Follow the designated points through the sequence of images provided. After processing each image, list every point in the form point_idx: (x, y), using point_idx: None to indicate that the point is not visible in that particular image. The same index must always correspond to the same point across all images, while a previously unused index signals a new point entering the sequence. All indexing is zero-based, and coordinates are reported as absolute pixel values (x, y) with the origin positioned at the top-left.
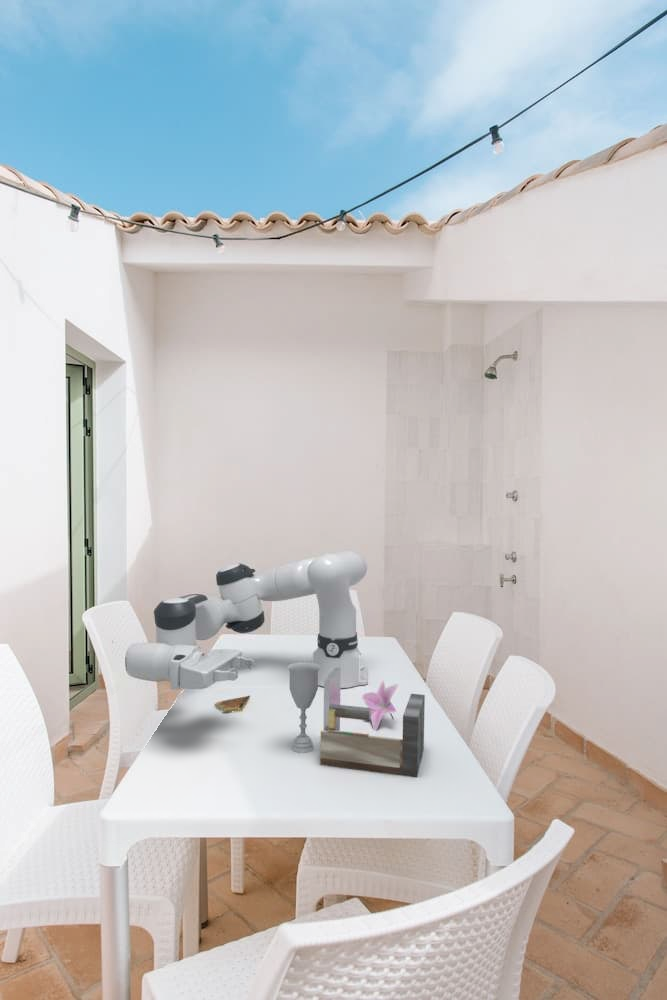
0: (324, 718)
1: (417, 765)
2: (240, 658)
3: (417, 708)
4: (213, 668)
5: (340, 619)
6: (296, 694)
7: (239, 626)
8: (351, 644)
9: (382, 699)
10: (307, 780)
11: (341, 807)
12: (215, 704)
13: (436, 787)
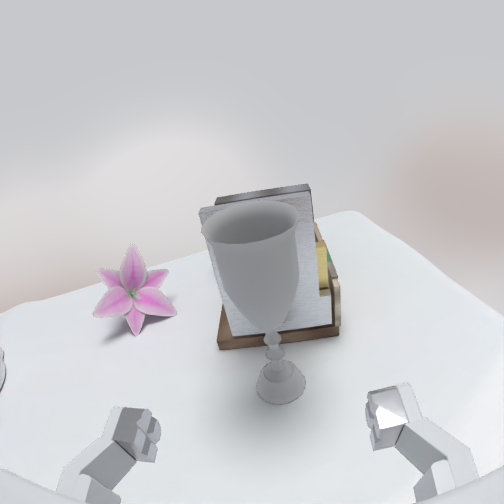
0: (317, 272)
1: None
2: (85, 476)
3: (275, 189)
4: (483, 478)
5: None
6: (297, 285)
7: None
8: None
9: (122, 288)
10: (398, 328)
11: (427, 277)
12: None
13: (328, 239)
